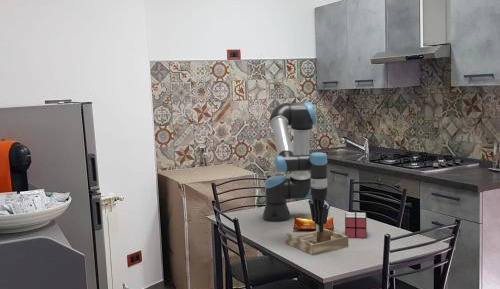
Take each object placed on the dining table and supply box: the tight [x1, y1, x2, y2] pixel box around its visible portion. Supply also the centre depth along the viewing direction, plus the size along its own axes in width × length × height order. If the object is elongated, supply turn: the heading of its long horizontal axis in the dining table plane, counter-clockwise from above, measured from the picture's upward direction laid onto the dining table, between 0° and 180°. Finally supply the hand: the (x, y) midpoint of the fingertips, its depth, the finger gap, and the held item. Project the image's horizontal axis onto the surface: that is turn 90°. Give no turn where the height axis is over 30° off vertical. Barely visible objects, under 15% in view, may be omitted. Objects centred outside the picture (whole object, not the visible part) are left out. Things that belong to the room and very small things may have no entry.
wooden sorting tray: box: [284, 227, 349, 256], centre depth 232 cm, size 21×20×4 cm
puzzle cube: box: [344, 211, 368, 239], centre depth 245 cm, size 10×10×10 cm
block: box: [317, 231, 331, 243], centre depth 228 cm, size 4×4×4 cm
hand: (319, 237), depth 230 cm, fingers closed
